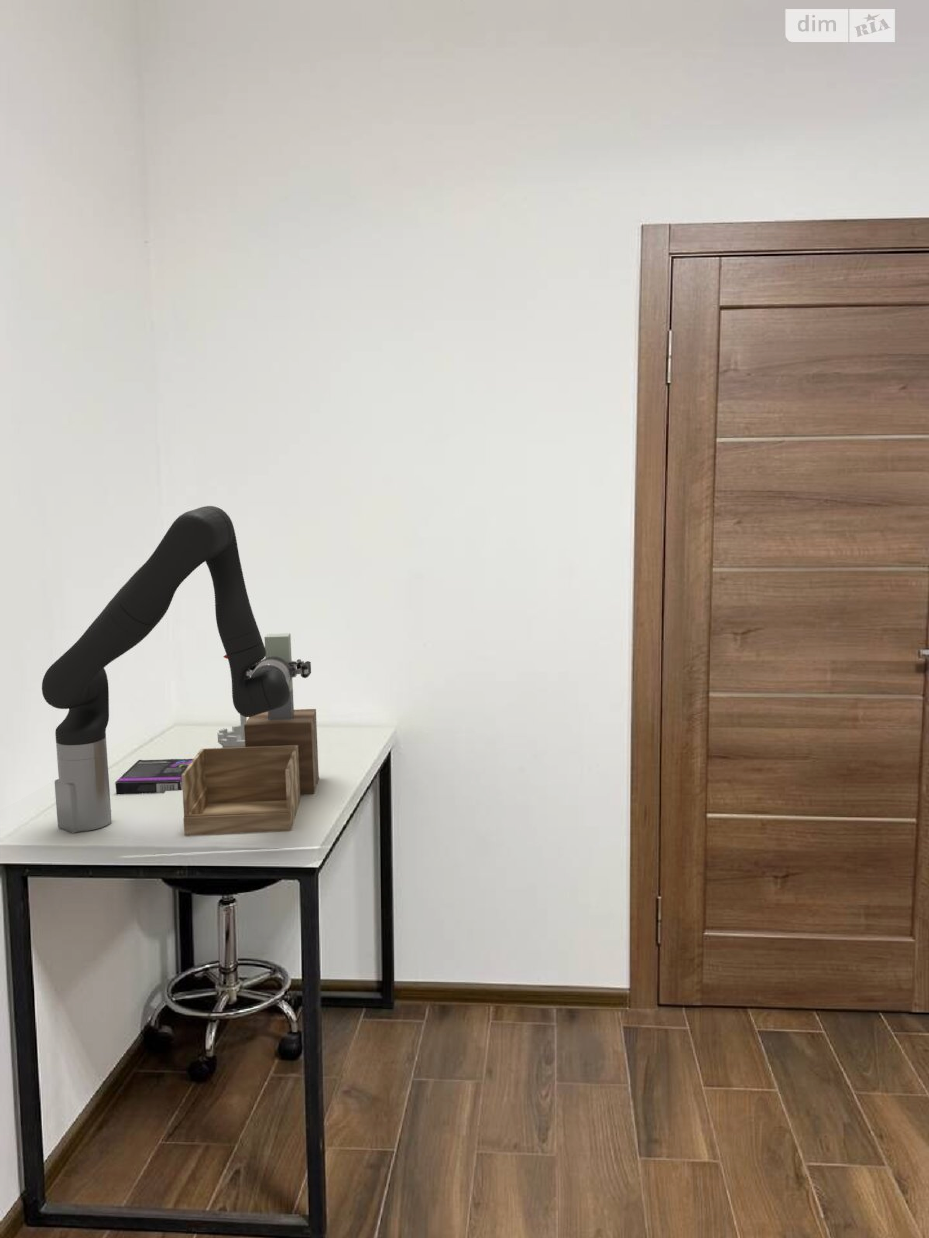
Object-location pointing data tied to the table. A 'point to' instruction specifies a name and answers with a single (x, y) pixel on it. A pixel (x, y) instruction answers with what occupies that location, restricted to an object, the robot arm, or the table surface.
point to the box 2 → (282, 648)
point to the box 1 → (153, 776)
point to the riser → (289, 741)
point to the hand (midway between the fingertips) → (279, 664)
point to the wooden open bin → (241, 790)
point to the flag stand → (233, 734)
